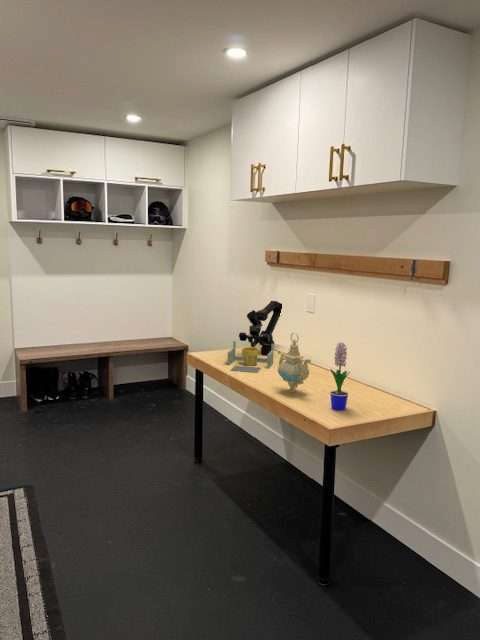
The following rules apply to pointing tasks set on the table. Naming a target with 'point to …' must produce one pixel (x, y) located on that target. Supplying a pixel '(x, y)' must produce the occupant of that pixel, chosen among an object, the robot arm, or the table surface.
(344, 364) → the hyacinth
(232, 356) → the grey-green open frame
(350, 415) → the table surface
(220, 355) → the table surface
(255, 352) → the plant pot
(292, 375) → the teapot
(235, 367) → the mat
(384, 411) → the table surface
